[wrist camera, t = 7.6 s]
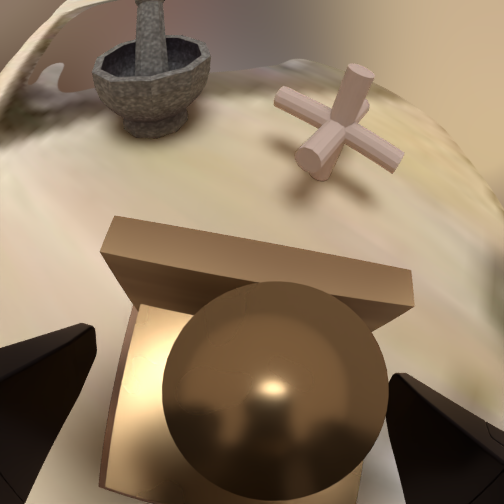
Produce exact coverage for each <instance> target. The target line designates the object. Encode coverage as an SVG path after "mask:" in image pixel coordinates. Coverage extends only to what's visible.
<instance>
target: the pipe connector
mask: <svg viewBox="0 0 504 504" xmlns="http://www.w3.org/2000/svg"><path fill="white" fill-rule="evenodd" d="M374 77H375V75H374V74H373V72H371V71H370V70H369V69H367V68H365V67H363V66H361V65H358V64H349V65H348V67H347V70H346V72H345V75H344V78H343V80H342V83H341V86H340V88H339V91H338V94H337V96H336V99H335V102H334V104H333V107H332V109H331V108H329V107H327V106H325V105H323V104H321V103H319V102H317V101H315V100H313V99H311V98H309V97H307V96H305V95H303V94H301V93H299V92H297V91H295V90H293V89H290V88H288V87H286V86H283V87H281V88H280V89H279V91H278V92H277V94H276V96H275V99H274V106H275V107H277V108H279V109H281V110H283V111H285V112H287V113H289V114H291V115H293V116H295V117H297V118H299V119H301V120H303V121H305V122H307V123H309V124H311V125H312V126H314V127H316V128H318V130H317V131H316V132H315V133H314V134H313V135H312V136H311V137H310V138H309V139H308V140H307V141H306V142H305V143H304V144H303V145H302V146H301V147H300V148H299V149H298V150H297V151H296V152H295V160H296V162H297V164H298V166H300V167H301V168H302V169H303V170H304V171H307V172H309V174H310V175H311V176H312V177H313V178H314V179H316V180H319V181H325V180H327V179H328V178H329V176H330V174H331V172H332V170H333V168H334V166H335V164H336V161H337V159H338V157H339V155H340V153H341V151H342V148H343V146H344V144H346V145H348V146H349V147H351V148H353V149H354V150H356V151H358V152H359V153H361V154H362V155H364V156H366V157H367V158H369V159H370V160H372V161H373V162H375V163H377V164H378V165H380V166H381V167H383V168H384V169H386V170H387V171H389V172H390V173H392V174H393V173H394V171H395V170H396V168H397V167H398V165H399V163H400V162H401V160H402V158H403V156H404V152H403V151H401V150H400V149H398V148H397V147H395V146H394V145H392V144H390V143H389V142H387V141H386V140H384V139H383V138H381V137H379V136H378V135H376V134H375V133H373V132H371V131H370V130H368V129H366V128H365V127H363V126H361V125H360V124H358V123H359V121H360V120H361V119H362V118H363V117H364V115H365V114H366V113H367V112H368V111H369V103H368V100H367V99H365V98H366V95H367V93H368V91H369V88H370V86H371V84H372V82H373V79H374Z"/></svg>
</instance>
